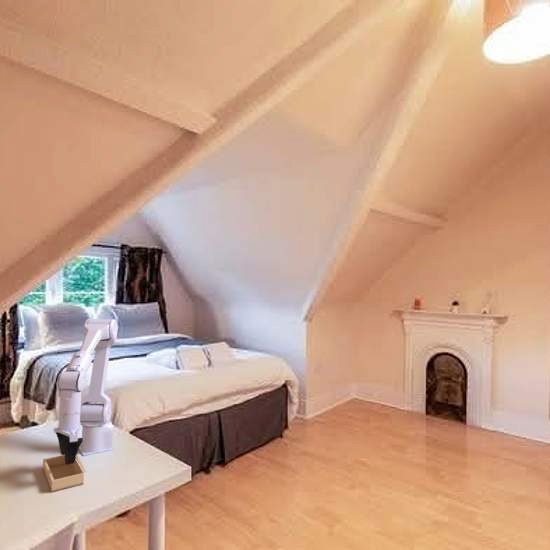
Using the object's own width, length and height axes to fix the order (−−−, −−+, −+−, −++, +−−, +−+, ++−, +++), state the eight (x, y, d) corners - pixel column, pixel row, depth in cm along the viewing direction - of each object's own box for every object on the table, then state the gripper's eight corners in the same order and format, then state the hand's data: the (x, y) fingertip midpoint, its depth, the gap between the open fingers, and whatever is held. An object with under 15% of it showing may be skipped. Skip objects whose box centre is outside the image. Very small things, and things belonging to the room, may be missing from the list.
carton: (71, 462, 132) (72, 453, 132) (83, 484, 119) (83, 473, 119) (42, 469, 127) (43, 459, 127) (51, 492, 114) (52, 481, 114)
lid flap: (73, 453, 131) (74, 452, 132) (84, 472, 119) (86, 471, 119) (66, 441, 130) (68, 440, 131) (77, 459, 118) (79, 458, 118)
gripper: (50, 407, 127) (48, 452, 127) (59, 421, 115) (56, 471, 115) (76, 404, 131) (73, 448, 131) (86, 417, 120) (84, 465, 119)
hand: (67, 458), depth 123 cm, fingers open, 7 cm apart
